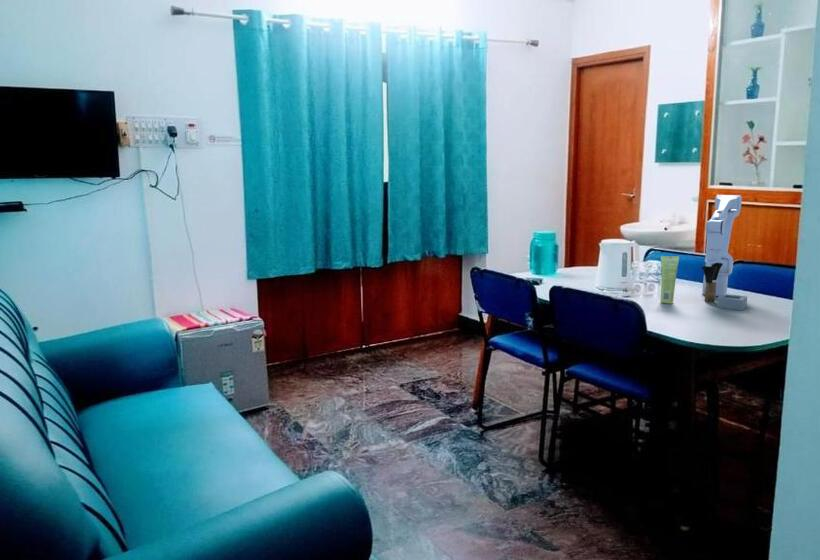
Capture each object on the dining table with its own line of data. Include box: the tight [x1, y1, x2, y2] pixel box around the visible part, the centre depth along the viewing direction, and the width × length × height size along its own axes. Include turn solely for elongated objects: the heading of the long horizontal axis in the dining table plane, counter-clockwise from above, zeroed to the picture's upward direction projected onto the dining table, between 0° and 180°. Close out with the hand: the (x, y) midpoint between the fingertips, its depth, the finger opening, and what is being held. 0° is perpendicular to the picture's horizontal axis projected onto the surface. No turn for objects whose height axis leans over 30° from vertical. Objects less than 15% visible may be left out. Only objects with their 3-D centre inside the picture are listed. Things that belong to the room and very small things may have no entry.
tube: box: [659, 255, 680, 305], centre depth 261 cm, size 6×5×20 cm
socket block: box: [716, 293, 748, 311], centre depth 254 cm, size 9×9×4 cm
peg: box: [703, 282, 716, 303], centre depth 263 cm, size 4×4×8 cm
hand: (711, 281), depth 262 cm, fingers open, 7 cm apart
